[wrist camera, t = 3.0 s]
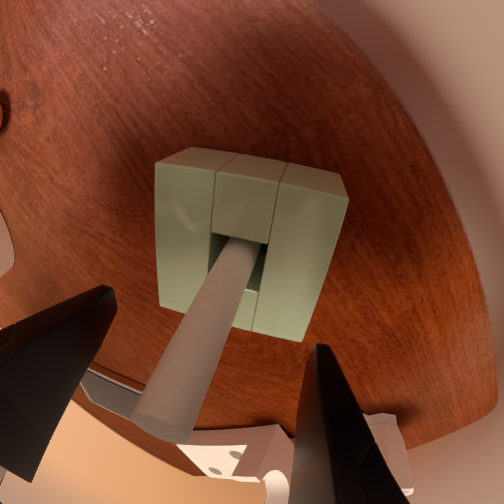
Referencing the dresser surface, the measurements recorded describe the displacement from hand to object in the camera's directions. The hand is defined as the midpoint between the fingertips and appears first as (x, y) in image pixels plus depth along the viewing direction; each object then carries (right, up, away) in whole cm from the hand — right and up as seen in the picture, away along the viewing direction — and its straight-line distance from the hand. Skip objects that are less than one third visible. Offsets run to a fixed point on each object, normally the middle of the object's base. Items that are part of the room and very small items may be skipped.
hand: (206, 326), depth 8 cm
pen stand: (+1, +3, +6) cm, 7 cm away
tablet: (-14, -15, +20) cm, 29 cm away
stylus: (+1, +3, +6) cm, 7 cm away
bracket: (0, -19, +19) cm, 27 cm away
